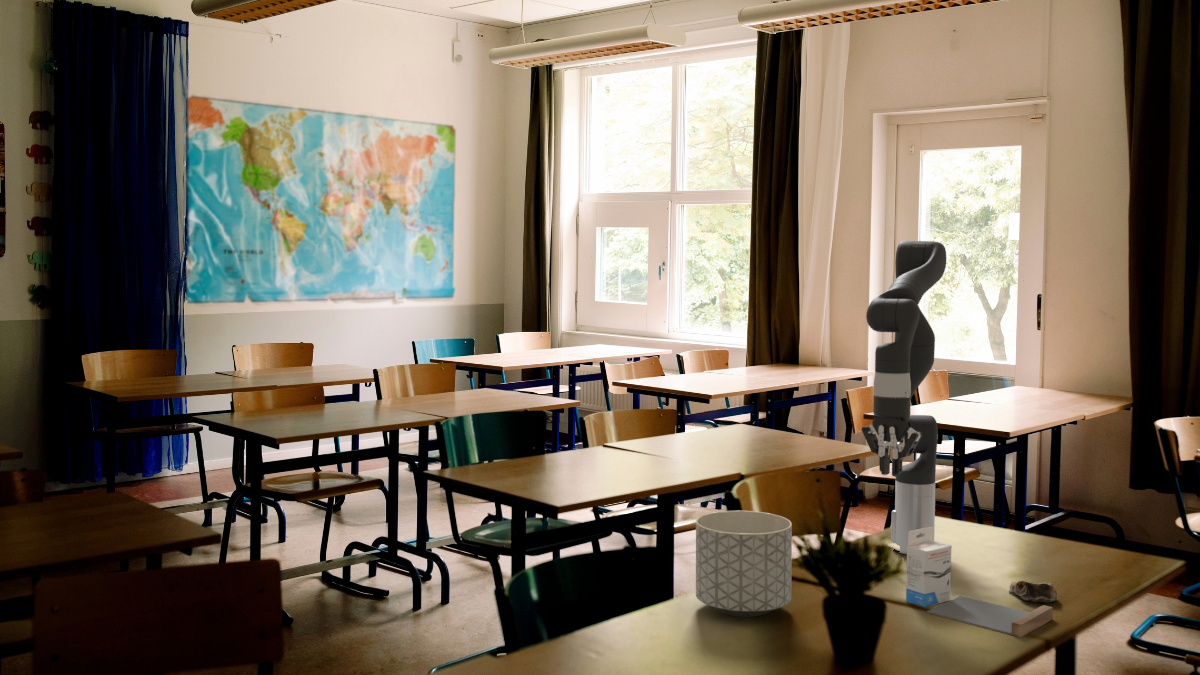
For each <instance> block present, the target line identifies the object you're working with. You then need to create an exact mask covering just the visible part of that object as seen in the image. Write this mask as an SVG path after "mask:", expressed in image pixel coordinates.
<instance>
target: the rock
mask: <svg viewBox="0 0 1200 675" xmlns="http://www.w3.org/2000/svg"><path fill="white" fill-rule="evenodd" d="M1008 593H1009V594H1012V595H1017V596H1019V597H1020V598H1021V599H1022V600H1024V601H1029V602H1031V603H1038V602H1039V603H1045V604H1049V603H1051V602H1052V603H1053V602H1057V598H1058V592H1057V590H1056V589H1055V588H1054V584H1053V582H1052V583H1051V582H1037V583H1036V582H1035V583H1034V582H1032V581H1026V580H1023V579H1022V580H1018V581H1017V582H1015V581H1011V583H1010V584H1009V591H1008Z"/></svg>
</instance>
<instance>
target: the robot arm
mask: <svg viewBox="0 0 1200 675" xmlns="http://www.w3.org/2000/svg"><path fill="white" fill-rule="evenodd" d="M894 260H895V265H894V267H895V279H894V280H893V282H892V283H891V285H890V287H889V288H888V290H886V291H883V292H882V293H880V294H878V295H876V297H875V298H873V299H872V300H871V302H870V303H869V305H868V307H867V310H866V315H865V316H866V317H865V318H866V322H867V325H868V326H869V328H870V329H872V331H874V332H878V333H894V341H893V342H887V343H882V344H879V345H877V346H876V348H875V352H874V354H875V355H874V359H875V360H874V361H875V362H874V378H873V405H872V406H873V407H872V408H873V409H872V410H873V411H872V412H873V413H872V414H873V420H872V422H871V423H870V424H869V425H867V426H865V425H864V426H862V427H861V432H862V434H863V436H864V438H865V440H866V443H867V445H868V447H869V450H870V452H871V453H873V454H876V455H877V456H878V457H879V468H878V469H879V471H880V472H881V475H883V476H887V475H889V474H891V476H892V477H895V482H894V483H895V488H894V489H895V490H894V492H895V493H894V495H895V497H894V498H895V499H894V506H895V507H894V509H893V510H892V511H891V521H890V524H891V525H890V526H891V527H890V528H891V529H890V535H891V537H890V543H891V542H893V543H896V544H897V545H899V546H900V552H899V554H900V553H901V554H903V555H907V547H908V533H909V531H914V530H918V529H922V528H927V527H931V526H932V527H933V541H935V528H936V527H935V525H936V524H935V519H936V516H935V514H936V513H935V512H936V508H935V507H936V471H937V470H936V469H937V448H938V440H939V438H938V437H939V433H938V432H939V430H938V428H939V427H938V423H937V420H936V418H935V417H934V416H932V415H930V414H929V415H926V414H911V401H912V400H911V399H912V398H913V396H914V395H915V394H914V393H916V391H917V389H918V388H919V386H921V384H922V382H923V381H924V380H925V379H926V377H927V376H928V374H929V373H930V371H931V369H932V368H933V365H934V364H935V363H934V361H935V352H936V350H935V348H936V347H935V346H936V337H935V333H934V330H933V329H932V327H931V324H930V323H929V321H928V319H927V318H926V316H925V315H924V313H923V312H922V310H921V308H920V307H919V303H920V302H921V300H922V298H923V296H924V295H925V293H927V292H928V291H929V290H930V289H932V288H933V286H935V284H937V283H938V282H939V281H940V279H942V277H943V276H944V274H945V272H946V268H947V251H946V247H945V246H944V244H943V243H942V242H939V241H934V240H933V241H931V240H925V241H924V240H902V241H900V242H899V243H898V245H897V247H896V252H895V259H894ZM876 434H877V435H876ZM877 436H878V437H877ZM890 450H892V459H891V457H890V456H889V455H890ZM912 454H920V455H919V457H918V458H916V459H915V460H914V461H912V462H910V463H907V464H904V465H903V460H904V458H907V457H910V456H912ZM890 465H891V467H890ZM890 470H891V471H890ZM923 536H925V534H922V533H920V534H919V535H917V536H916V538H919V537H923Z"/></svg>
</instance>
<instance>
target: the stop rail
mask: <svg viewBox="0 0 1200 675" xmlns="http://www.w3.org/2000/svg"><path fill="white" fill-rule="evenodd" d="M1053 610H1054V609H1053V607H1052V606H1048V605H1044V604H1043V605H1041V606H1039V607H1037V608H1036V609H1034V610H1032V611H1029V612H1030V613H1028V614H1026V615H1024V616H1022V617H1021V618H1019V619H1017V620H1015V621H1013V622H1012V634H1011V635H1010V636H1014V637H1017V638H1022V637H1025V636H1026V635H1028V634H1029V633H1031V632H1033V631H1035V630H1037V629H1039V628H1040V627H1042V626H1044V625H1045V624H1047V623H1048V622H1050V621H1052V620H1053Z"/></svg>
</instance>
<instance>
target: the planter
mask: <svg viewBox="0 0 1200 675" xmlns="http://www.w3.org/2000/svg"><path fill="white" fill-rule="evenodd" d="M792 524H793V523H792V521H791V520H790V519H788V518H786V517H784V516H781V515H778V514H774V513H769V512H765V511H764V512H763V511H756V510H755V511H754V510H724V511H722V510H721V511H715V512H708V513H706V514H702V515H700V516H699V517H697V518H696V520H695V597H696V599H697V600H698V601H700V602H701V603H703V604H705V605H707V606H709V607H712V608H714V609H716V610H717V611H719V612H721V613H723V614H725V615H729V616H732V617H736V618H738V617H739V618H755V617H759V616H762V615H765V614H768V613H770V612H772V611H775V610H777V609H780V608H783V607H786V606H787V605H788V604H790V603H791V600H792V564H793V563H792V556H793V554H792V552H793V551H792V550H793V549H792V546H793V545H792V544H793V543H792V542H793V541H792V540H793V536H792V535H793V530H792V529H793V527H792V526H793V525H792Z"/></svg>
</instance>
